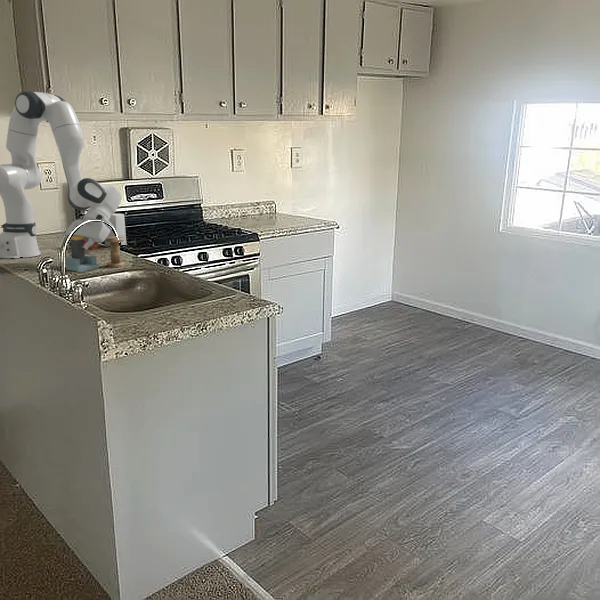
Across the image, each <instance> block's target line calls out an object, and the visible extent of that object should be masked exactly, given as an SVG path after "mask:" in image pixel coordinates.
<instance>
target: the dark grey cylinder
mask: <svg viewBox="0 0 600 600" xmlns="http://www.w3.org/2000/svg"><path fill="white" fill-rule="evenodd" d="M83 244H84V237H79V236H76V237H72V238H71V247H70V251H71V258H76V259H79V260H80V265H83V264H85V255H86V253H85V249H83V248H82V246H83Z"/></svg>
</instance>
